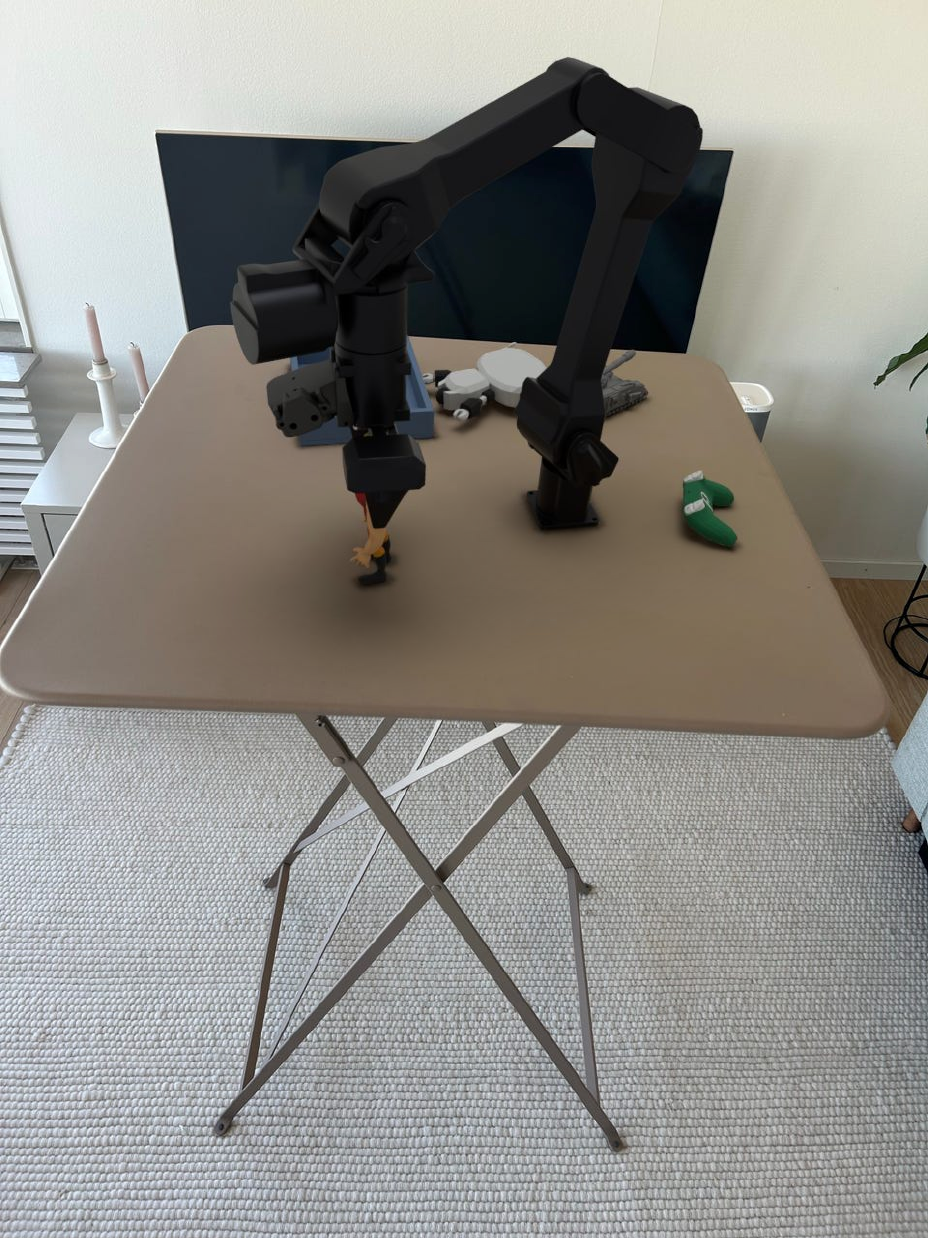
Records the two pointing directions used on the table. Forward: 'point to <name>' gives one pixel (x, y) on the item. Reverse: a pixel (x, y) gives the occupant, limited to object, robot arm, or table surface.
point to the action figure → (373, 547)
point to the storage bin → (416, 427)
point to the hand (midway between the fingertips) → (373, 502)
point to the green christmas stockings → (707, 508)
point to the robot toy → (485, 381)
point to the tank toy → (620, 387)
